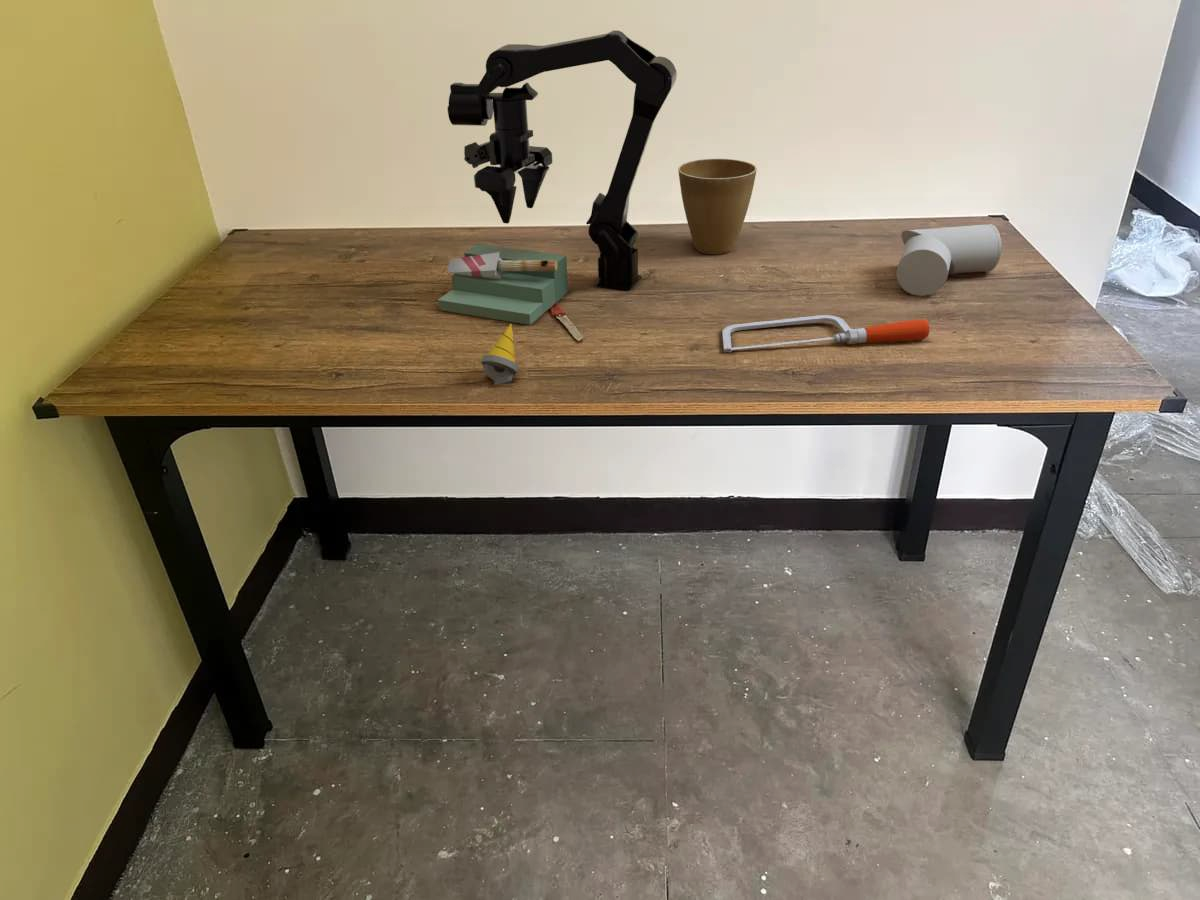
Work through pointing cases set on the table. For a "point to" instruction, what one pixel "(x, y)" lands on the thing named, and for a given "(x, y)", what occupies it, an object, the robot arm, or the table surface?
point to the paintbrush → (496, 265)
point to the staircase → (508, 288)
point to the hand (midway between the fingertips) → (518, 215)
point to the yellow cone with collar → (501, 359)
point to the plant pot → (716, 201)
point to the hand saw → (852, 336)
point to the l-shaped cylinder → (945, 255)
